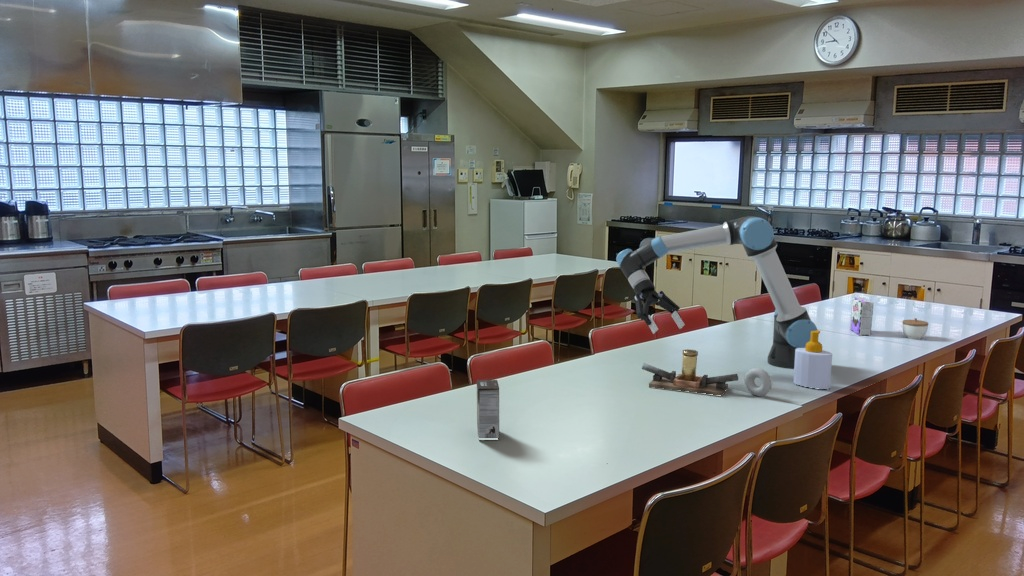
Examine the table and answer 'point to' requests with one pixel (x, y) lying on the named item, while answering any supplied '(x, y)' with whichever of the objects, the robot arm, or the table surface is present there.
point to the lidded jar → (915, 328)
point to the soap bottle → (813, 364)
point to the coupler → (689, 365)
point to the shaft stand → (700, 386)
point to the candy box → (861, 316)
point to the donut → (764, 379)
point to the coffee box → (488, 408)
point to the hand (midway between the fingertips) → (669, 329)
